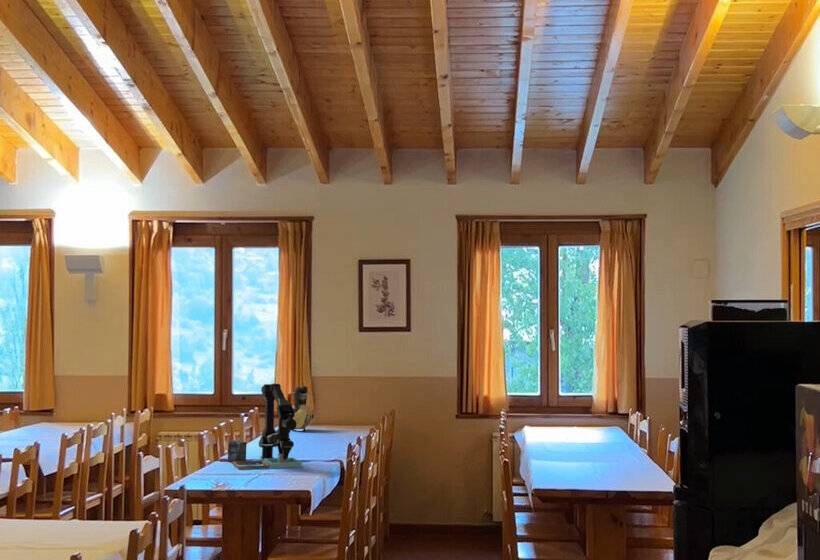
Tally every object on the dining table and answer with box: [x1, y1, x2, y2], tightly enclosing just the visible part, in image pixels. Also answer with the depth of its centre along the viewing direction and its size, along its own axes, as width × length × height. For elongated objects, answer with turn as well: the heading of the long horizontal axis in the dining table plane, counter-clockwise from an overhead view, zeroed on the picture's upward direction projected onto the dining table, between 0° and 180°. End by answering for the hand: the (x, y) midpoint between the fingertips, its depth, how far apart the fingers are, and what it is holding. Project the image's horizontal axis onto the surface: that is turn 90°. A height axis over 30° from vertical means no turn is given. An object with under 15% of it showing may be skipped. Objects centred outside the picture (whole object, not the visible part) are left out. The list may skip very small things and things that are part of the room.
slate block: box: [276, 453, 289, 463], centre depth 447 cm, size 4×4×5 cm
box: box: [227, 440, 247, 463], centre depth 454 cm, size 8×6×11 cm
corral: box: [231, 460, 270, 470], centre depth 441 cm, size 16×16×2 cm
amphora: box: [291, 385, 313, 430], centre depth 590 cm, size 18×17×30 cm
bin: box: [263, 457, 303, 469], centre depth 447 cm, size 16×16×2 cm
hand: (282, 458), depth 447 cm, fingers open, 8 cm apart
